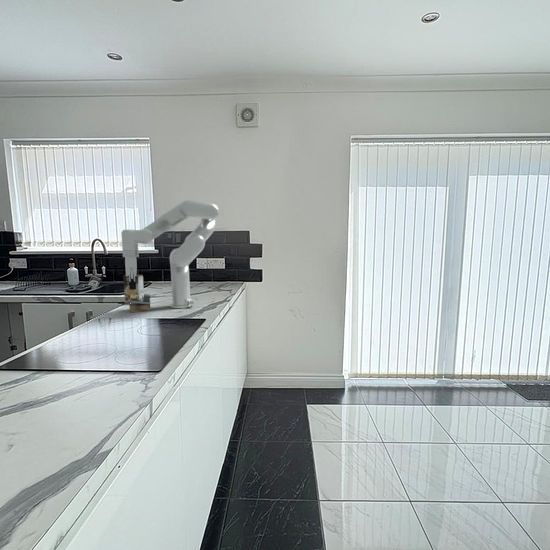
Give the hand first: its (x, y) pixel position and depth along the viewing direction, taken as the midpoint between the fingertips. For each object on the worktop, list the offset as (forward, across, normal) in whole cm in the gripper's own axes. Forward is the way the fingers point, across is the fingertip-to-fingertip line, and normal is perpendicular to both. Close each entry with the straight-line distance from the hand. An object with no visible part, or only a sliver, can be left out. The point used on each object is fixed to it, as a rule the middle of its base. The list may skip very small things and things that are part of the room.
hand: (132, 289), depth 179 cm
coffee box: (+12, -21, 0) cm, 24 cm away
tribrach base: (+11, 0, +3) cm, 12 cm away
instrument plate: (+7, 0, +3) cm, 8 cm away
